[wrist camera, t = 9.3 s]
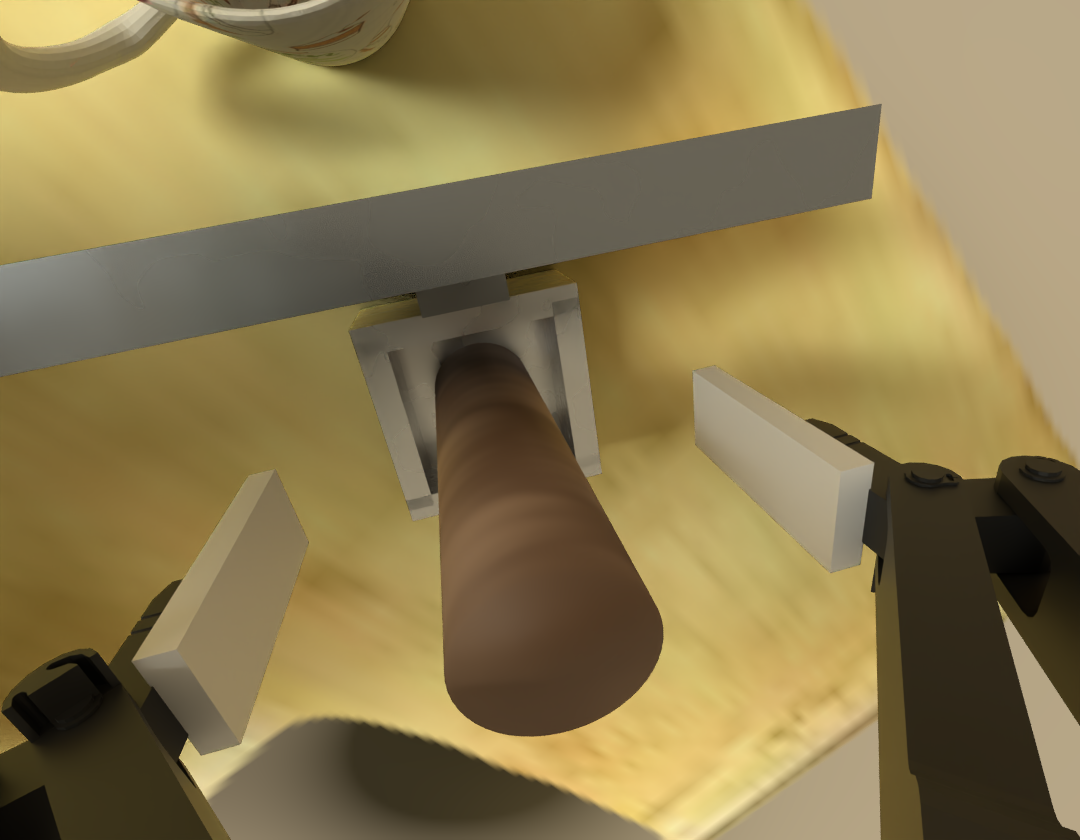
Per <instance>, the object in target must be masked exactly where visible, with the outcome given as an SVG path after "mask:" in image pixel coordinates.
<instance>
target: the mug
mask: <svg viewBox="0 0 1080 840" xmlns="http://www.w3.org/2000/svg"><path fill="white" fill-rule="evenodd" d="M138 1H140V2H139V3H138V4H137V5H135V6H134V7H133V8H131V9H130V10H128V11H127V12H125V13H124V14H122V15H120V16H119V17H117V18H115V19H113V20H112V21H110V22H108V23H106V24H105V25H103V26H101V27H100V28H98V29H97V30H95V31H93V32H91V33H90V34H88V35H86V36H84V37H82V38H80V39H77V40H75V41H72V42H70V43H65V44H61V45H55V46H47V47H19V46H16V45H13V44H10V43H8V42H6V41H4V40H3V39H2V38H1V36H0V91H5V92H12V93H35V92H44V91H50V90H56V89H59V88H63V87H67V86H71V85H74V84H76V83H79V82H82V81H85V80H87V79H90V78H92V77H94V76H96V75H98V74H100V73H103V72H105V71H107V70H110V69H112V68H114V67H117V66H119V65H121V64H124V63H126V62H128V61H130V60H132V59H134V58H136V57H138V56H140V55H141V54H143V53H144V52H145V51H147V50H148V49H149V48H150V47H151V46H152V45H153V44H154V43H155V42H156V41H157V40H158V39H159V38H160V37H161V36H162V35H163V34H164V33H165V32H166V31H167V29H168V28H169V27H170V26H171V25H172V24H173V23H174V22H175V21H176V20H177V18H179V19H181V20H184V21H187V22H190V23H193V24H195V25H198V26H201V27H204V28H207V29H210V30H213V31H215V32H218V33H221V34H224V35H227V36H230V37H233V38H235V39H238V40H241V41H244V42H247V43H250V44H253V45H256V46H258V47H261V48H264V49H267V50H270V51H273V52H276V53H278V54H281V55H284V56H287V57H290V58H293V59H296V60H299V61H302V62H306V63H310V64H315V65H322V66H339V65H346V64H350V63H354V62H357V61H360V60H362V59H364V58H366V57H368V56H370V55H372V54H373V53H375V52H376V51H377V50H379V49H380V48H381V47H382V46H383V45H384V44H385V43H386V42H387V41H388V40H389V39H390V38H391V36H392V35H393V34H394V32H395V31H396V29H397V28H398V26H399V24H400V22H401V20H402V18H403V16H404V14H405V11H406V9H407V6H408V4H409V1H410V0H138Z"/></svg>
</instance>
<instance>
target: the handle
mask: <svg viewBox="0 0 1080 840" xmlns="http://www.w3.org/2000/svg"><path fill="white" fill-rule="evenodd" d="M435 410H436V440H437V470H438V500H439V530H440V560H441V590H442V620H443V650H444V676H445V684H446V688H447V691H448V694H449V696H450V698H451V700H452V702H453V703H454V704H455V706H456V707H457V708H458V710H459V711H460V712H461V713H462V714H463V715H464V716H466V717H467V718H468V719H470V720H471V721H472V722H474V723H475V724H477V725H479V726H481V727H484V728H486V729H488V730H491V731H494V732H497V733H502V734H507V735H514V736H545V735H552V734H557V733H562V732H566V731H570V730H573V729H576V728H579V727H582V726H585V725H587V724H589V723H592V722H594V721H596V720H598V719H600V718H602V717H604V716H605V715H607V714H609V713H611V712H612V711H614V710H615V709H617V708H618V707H620V706H621V705H622V704H623V703H625V702H626V701H627V700H628V699H630V698H631V697H632V696H633V695H634V694H635V693H636V692H637V691H638V690H639V689H640V687H641V686H642V685H643V684H644V683H645V681H646V680H647V679H648V677H649V676H650V674H651V673H652V671H653V669H654V667H655V665H656V663H657V661H658V659H659V656H660V653H661V650H662V644H663V624H662V619H661V616H660V613H659V611H658V608H657V606H656V605H655V603H654V601H653V599H652V597H651V596H650V594H649V592H648V590H647V588H646V586H645V585H644V583H643V581H642V579H641V577H640V575H639V574H638V572H637V570H636V568H635V566H634V565H633V563H632V561H631V559H630V557H629V555H628V554H627V552H626V550H625V548H624V546H623V544H622V543H621V541H620V539H619V537H618V535H617V534H616V532H615V530H614V528H613V526H612V524H611V523H610V521H609V519H608V517H607V515H606V514H605V512H604V510H603V508H602V506H601V504H600V503H599V501H598V499H597V497H596V495H595V493H594V492H593V490H592V488H591V486H590V484H589V483H588V481H587V479H586V477H585V475H584V473H583V472H582V470H581V468H580V466H579V464H578V462H577V461H576V459H575V457H574V455H573V453H572V452H571V450H570V448H569V446H568V444H567V442H566V441H565V439H564V437H563V435H562V433H561V431H560V430H559V428H558V426H557V424H556V422H555V421H554V419H553V417H552V415H551V413H550V411H549V410H548V408H547V406H546V404H545V402H544V401H543V399H542V397H541V395H540V393H539V391H538V390H537V388H536V386H535V384H534V382H533V380H532V379H531V377H530V375H529V373H528V371H527V370H526V368H525V366H524V364H523V363H522V361H521V360H520V359H519V357H517V356H516V355H515V354H514V353H513V352H512V351H510V350H509V349H507V348H505V347H503V346H500V345H497V344H493V343H474V344H470V345H466V346H464V347H462V348H460V349H458V350H456V351H455V352H453V353H452V354H451V355H450V356H449V357H448V358H447V359H446V360H445V361H444V363H443V364H442V365H441V367H440V369H439V371H438V374H437V376H436V381H435Z"/></svg>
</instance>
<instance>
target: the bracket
mask: <svg viewBox="0 0 1080 840" xmlns="http://www.w3.org/2000/svg"><path fill="white" fill-rule="evenodd" d="M881 105H882V104H878V105H873V106H868V107H862V108H857V109H851V110H846V111H840V112H835V113H829V114H824V115H818V116H813V117H807V118H802V119H797V120H791V121H786V122H780V123H775V124H769V125H764V126H758V127H753V128H747V129H742V130H736V131H731V132H726V133H720V134H715V135H709V136H704V137H698V138H693V139H687V140H682V141H676V142H671V143H666V144H660V145H655V146H649V147H644V148H638V149H633V150H627V151H622V152H616V153H611V154H605V155H600V156H595V157H589V158H584V159H578V160H573V161H567V162H562V163H556V164H551V165H545V166H540V167H535V168H529V169H524V170H518V171H513V172H507V173H502V174H496V175H491V176H485V177H480V178H474V179H469V180H464V181H458V182H453V183H447V184H442V185H436V186H431V187H425V188H420V189H414V190H409V191H404V192H398V193H393V194H387V195H382V196H376V197H371V198H365V199H360V200H354V201H349V202H343V203H338V204H333V205H327V206H322V207H316V208H311V209H305V210H300V211H294V212H289V213H283V214H278V215H273V216H267V217H262V218H256V219H251V220H245V221H240V222H234V223H229V224H223V225H218V226H212V227H207V228H202V229H196V230H191V231H185V232H180V233H174V234H169V235H163V236H158V237H152V238H147V239H142V240H136V241H131V242H125V243H120V244H114V245H109V246H103V247H98V248H92V249H87V250H81V251H76V252H71V253H65V254H60V255H54V256H49V257H43V258H38V259H32V260H27V261H21V262H16V263H10V264H5V265H0V377H2V376H7V375H12V374H17V373H22V372H27V371H31V370H36V369H41V368H46V367H51V366H56V365H61V364H66V363H70V362H75V361H80V360H85V359H90V358H95V357H100V356H105V355H109V354H114V353H119V352H124V351H129V350H134V349H139V348H144V347H149V346H153V345H158V344H163V343H168V342H173V341H178V340H183V339H188V338H192V337H197V336H202V335H207V334H212V333H217V332H222V331H227V330H232V329H236V328H241V327H246V326H251V325H256V324H261V323H266V322H271V321H275V320H280V319H285V318H290V317H295V316H300V315H305V314H310V313H315V312H319V311H324V310H329V309H334V308H339V307H344V306H349V305H354V304H358V303H363V302H368V301H373V300H378V299H383V298H388V297H393V296H398V295H402V294H407V293H412V292H415V293H416V297H417V298H412V299H407V300H403V301H398V302H393V303H388V304H383V305H378V306H374V307H369V308H364V309H361V310H360V312H359V313H358V315H357V317H356V319H355V320H354V322H353V324H352V326H351V327H350V329H349V333H350V336H351V339H352V342H353V345H354V348H355V351H356V354H357V357H358V360H359V363H360V366H361V369H362V372H363V375H364V377H365V380H366V383H367V386H368V389H369V392H370V395H371V398H372V401H373V404H374V407H375V410H376V413H377V416H378V419H379V422H380V425H381V428H382V431H383V434H384V437H385V440H386V443H387V446H388V449H389V452H390V455H391V458H392V461H393V464H394V467H395V470H396V473H397V476H398V479H399V481H400V484H401V487H402V490H403V493H404V496H405V499H406V502H407V505H408V508H409V511H410V514H411V517H412V520H413V521H416V520H420V519H424V518H428V517H432V516H436V515H439V500H438V470H437V440H436V410H435V381H436V376H437V374H438V371H439V369H440V367H441V365H442V364H443V363H444V361H445V360H446V359H447V358H448V357H449V356H450V355H451V354H452V353H453V352H455V351H456V350H458V349H460V348H462V347H464V346H466V345H470V344H474V343H493V344H497V345H500V346H503V347H505V348H507V349H509V350H510V351H512V352H513V353H514V354H515V355H516V356H517V357H519V359H520V360H521V361H522V363H523V364H524V366H525V368H526V370H527V371H528V373H529V375H530V377H531V379H532V380H533V382H534V384H535V386H536V388H537V390H538V391H539V393H540V395H541V397H542V399H543V401H544V402H545V404H546V406H547V408H548V410H549V411H550V413H551V415H552V417H553V419H554V421H555V422H556V424H557V426H558V428H559V430H560V431H561V433H562V435H563V437H564V439H565V441H566V442H567V444H568V446H569V448H570V450H571V452H572V453H573V455H574V457H575V459H576V461H577V462H578V464H579V466H580V468H581V470H582V472H583V473H584V475H585V477H590V476H594V475H598V474H602V470H601V462H600V455H599V447H598V440H597V432H596V425H595V417H594V409H593V402H592V394H591V387H590V379H589V371H588V364H587V356H586V349H585V341H584V334H583V326H582V318H581V311H580V303H579V296H578V288H577V283H576V282H575V281H573V280H572V279H570V278H568V277H567V276H565V275H564V274H562V273H560V272H559V271H557V270H556V269H553V270H548V271H543V272H538V273H534V274H529V275H524V276H519V277H514V278H509V279H506V277H505V273H510V272H515V271H520V270H524V269H529V268H534V267H539V266H544V265H549V264H554V263H559V262H563V261H568V260H573V259H578V258H583V257H588V256H593V255H598V254H603V253H607V252H612V251H617V250H622V249H627V248H632V247H637V246H642V245H646V244H651V243H656V242H661V241H666V240H671V239H676V238H681V237H686V236H690V235H695V234H700V233H705V232H710V231H715V230H720V229H725V228H729V227H734V226H739V225H744V224H749V223H754V222H759V221H764V220H769V219H773V218H778V217H783V216H788V215H793V214H798V213H803V212H808V211H812V210H817V209H822V208H827V207H832V206H837V205H842V204H847V203H851V202H856V201H861V200H866V199H871V198H872V188H873V179H874V170H875V161H876V151H877V142H878V133H879V123H880V114H881Z"/></svg>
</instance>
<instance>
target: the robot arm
mask: <svg viewBox="0 0 1080 840" xmlns="http://www.w3.org/2000/svg"><path fill="white" fill-rule="evenodd" d="M693 397H694V423H695V445H696V446H697V447H698V448H699V449H700V450H701V451H702V452H703V453H704V454H705V455H706V456H708V457H709V458H710V459H711V460H712V461H713V462H714V463H715V464H716V465H717V466H718V467H719V468H720V469H721V470H722V471H723V472H724V473H725V474H726V475H727V476H729V477H730V478H731V479H732V480H733V481H734V482H735V483H736V484H737V485H738V486H739V487H740V488H741V489H742V490H743V491H744V492H745V493H746V494H747V495H749V496H750V497H751V498H752V499H753V500H754V501H755V502H756V503H757V504H758V505H759V506H760V507H761V508H762V509H763V510H764V511H765V512H766V513H767V514H768V515H770V516H771V517H772V518H773V519H774V520H775V521H776V522H777V523H778V524H779V525H780V526H781V527H782V528H783V529H784V530H785V531H786V532H787V533H788V534H789V535H791V536H792V537H793V538H794V539H795V540H796V541H797V542H798V543H799V544H800V545H801V546H802V547H803V548H804V549H805V550H806V551H807V552H808V553H809V554H811V555H812V556H813V557H814V558H815V559H816V560H817V561H818V562H819V563H820V564H821V565H822V566H823V567H824V568H825V569H826V570H827V571H828V572H829V573H833V572H836V571H840V570H843V569H847V568H850V567H853V566H857V565H860V563H861V556H862V548H863V543H864V544H865V545H866V546H868V547H869V548H870V549H871V550H873V551H874V552H875V553H876V554H877V556H876V562H875V569H874V575H873V582H872V588H871V592H875V596H876V642H877V687H878V731H879V732H878V733H879V779H880V822H881V840H1080V837H1079V835H1078V834H1077V832H1076V831H1073V830H1070V829H1068V828H1065V827H1062V826H1061V824H1060V823H1059V821H1058V820H1057V817H1056V814H1055V812H1054V809H1053V805H1052V802H1051V798H1050V794H1049V791H1048V787H1047V783H1046V779H1045V776H1044V772H1043V769H1042V765H1041V761H1040V758H1039V754H1038V750H1037V746H1036V742H1035V739H1034V735H1033V731H1032V728H1031V724H1030V720H1029V717H1028V713H1027V709H1026V705H1025V702H1024V698H1023V694H1022V691H1021V687H1020V683H1019V679H1018V676H1017V672H1016V668H1015V665H1014V661H1013V657H1012V653H1011V650H1010V646H1009V642H1008V639H1007V635H1006V632H1005V628H1004V624H1003V620H1002V616H1001V613H1000V609H999V605H998V602H999V604H1000V605H1001V607H1002V608H1003V610H1004V611H1005V613H1006V614H1007V616H1008V617H1009V619H1010V620H1011V622H1012V623H1013V625H1014V626H1015V628H1016V629H1017V631H1018V632H1019V634H1020V635H1021V637H1022V639H1023V640H1024V642H1025V643H1026V645H1027V646H1028V648H1029V649H1030V651H1031V652H1032V654H1033V655H1034V657H1035V658H1036V660H1037V661H1038V663H1039V664H1040V666H1041V667H1042V669H1043V670H1044V672H1045V673H1046V675H1047V677H1048V678H1049V680H1050V681H1051V683H1052V684H1053V686H1054V687H1055V689H1056V690H1057V692H1058V693H1059V695H1060V696H1061V698H1062V699H1063V701H1064V702H1065V704H1066V705H1067V707H1068V708H1069V710H1070V712H1071V713H1072V715H1073V716H1074V718H1075V719H1076V720H1077V722H1078V724H1079V725H1080V471H1079V470H1078V469H1076V468H1074V467H1073V466H1071V465H1068V464H1065V463H1063V462H1060V461H1058V460H1055V459H1051V458H1046V457H1041V456H1016V457H1010V458H1007V459H1005V460H1002V462H1001V464H1000V465H999V468H998V472H997V476H996V478H987V479H967V480H963V479H962V477H961V476H959V475H958V474H956V473H955V472H953V471H951V470H949V469H946V468H943V467H941V466H938V465H932V464H927V463H905V464H900V463H898V462H896V461H895V460H893V459H891V458H889V457H888V456H886V455H884V454H882V453H881V452H879V451H877V450H876V449H874V448H872V447H870V446H869V445H867V444H865V443H863V442H862V443H861V442H860V440H858V439H857V438H855V437H853V436H851V435H848V434H847V433H846V432H844V431H843V430H841V429H839V428H838V427H836V426H834V425H832V424H829V423H826V422H822V421H819V420H816V419H808V420H803V419H802V418H800V417H798V416H797V415H795V414H793V413H792V412H790V411H788V410H787V409H785V408H784V407H782V406H780V405H779V404H777V403H775V402H774V401H772V400H770V399H769V398H767V397H766V396H764V395H762V394H761V393H759V392H757V391H756V390H754V389H752V388H751V387H749V386H747V385H746V384H744V383H743V382H741V381H739V380H738V379H736V378H734V377H733V376H731V375H729V374H728V373H726V372H725V371H723V370H721V369H720V368H718V367H716V366H710V367H706V368H702V369H698V370H693ZM308 543H309V542H308V539H307V537H306V535H305V533H304V531H303V529H302V526H301V524H300V522H299V520H298V518H297V515H296V513H295V511H294V509H293V507H292V504H291V502H290V500H289V498H288V496H287V493H286V491H285V489H284V487H283V485H282V482H281V480H280V478H279V476H278V474H277V471H276V469H273V470H268V471H264V472H260V473H256V474H251V475H248V477H247V478H246V480H245V482H244V483H243V485H242V486H241V488H240V490H239V491H238V493H237V494H236V496H235V498H234V499H233V501H232V502H231V504H230V505H229V507H228V509H227V510H226V512H225V513H224V515H223V517H222V518H221V520H220V521H219V523H218V525H217V526H216V528H215V529H214V531H213V532H212V534H211V536H210V537H209V539H208V540H207V542H206V544H205V545H204V547H203V548H202V550H201V552H200V553H199V555H198V556H197V558H196V559H195V561H194V563H193V564H192V566H191V567H190V569H189V571H188V572H187V574H186V575H185V577H184V579H182V580H178V581H174V582H172V583H171V584H169V585H168V586H167V587H166V588H165V589H164V590H163V591H162V592H161V593H160V594H158V595H157V596H156V597H155V598H154V599H153V600H152V602H151V603H150V605H149V606H148V608H147V609H146V611H145V612H144V614H143V615H142V617H141V620H140V621H138V623H137V624H136V625H135V627H134V628H133V630H132V631H131V635H130V636H128V637H127V639H126V640H125V642H124V643H123V645H122V646H121V648H120V649H119V651H118V652H117V654H116V655H115V657H114V658H113V660H112V661H111V663H110V664H109V666H108V665H107V664H106V663H105V662H104V660H103V659H102V658H101V656H100V655H99V654H98V652H96V651H94V650H93V649H91V648H90V649H77V650H74V651H71V652H68V653H65V654H62V655H60V656H58V657H57V658H55V659H53V660H51V661H49V662H47V663H45V664H43V665H42V666H40V667H39V668H38V669H36V670H35V671H33V672H32V673H30V674H29V675H27V676H26V677H25V678H24V679H23V680H22V681H21V682H20V683H19V684H18V685H17V686H15V687H14V688H13V689H12V691H11V692H10V693H9V695H8V696H7V698H6V699H5V700H4V702H3V707H2V713H3V714H4V715H5V716H6V717H7V718H8V719H9V720H10V721H11V722H12V724H13V725H14V726H15V727H16V728H17V729H18V730H19V731H20V732H21V733H22V734H23V735H24V736H25V737H26V738H27V739H28V741H26V742H24V743H22V744H20V745H18V746H16V747H14V748H12V749H10V750H8V751H6V752H4V753H2V754H0V840H231V839H230V837H229V836H228V834H227V832H226V831H225V829H224V828H223V826H222V824H221V823H220V821H219V819H218V818H217V816H216V815H215V813H214V811H213V810H212V808H211V807H210V805H209V803H208V802H207V800H206V798H205V797H204V795H203V794H202V792H201V790H200V789H199V787H198V785H197V784H196V782H195V781H194V779H193V777H192V776H191V774H190V772H189V771H188V769H187V768H186V766H185V765H184V764H183V762H182V761H181V760H180V759H179V756H180V754H181V751H182V749H183V747H184V745H185V742H186V740H187V738H189V740H190V741H191V743H192V744H193V745H194V747H195V748H196V749H197V751H198V752H199V753H200V755H201V756H202V755H205V754H208V753H212V752H215V751H219V750H222V749H226V748H229V747H233V746H236V745H239V744H241V742H242V739H243V736H244V733H245V730H246V727H247V724H248V721H249V718H250V715H251V712H252V709H253V706H254V703H255V700H256V697H257V694H258V691H259V688H260V685H261V682H262V679H263V676H264V674H265V671H266V668H267V665H268V662H269V659H270V656H271V653H272V650H273V647H274V644H275V641H276V638H277V635H278V632H279V629H280V626H281V623H282V620H283V617H284V614H285V611H286V608H287V605H288V603H289V600H290V597H291V594H292V591H293V588H294V585H295V582H296V579H297V576H298V573H299V570H300V567H301V564H302V561H303V558H304V555H305V552H306V549H307V546H308ZM997 600H998V602H997Z"/></svg>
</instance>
